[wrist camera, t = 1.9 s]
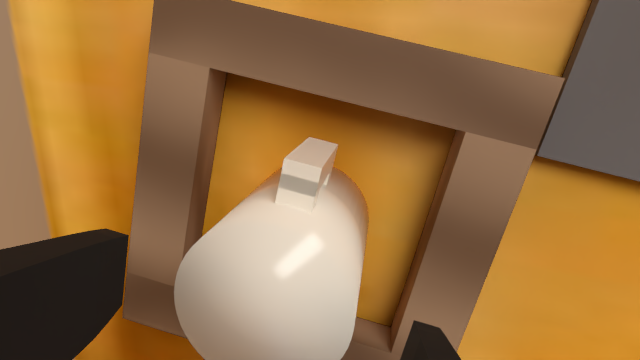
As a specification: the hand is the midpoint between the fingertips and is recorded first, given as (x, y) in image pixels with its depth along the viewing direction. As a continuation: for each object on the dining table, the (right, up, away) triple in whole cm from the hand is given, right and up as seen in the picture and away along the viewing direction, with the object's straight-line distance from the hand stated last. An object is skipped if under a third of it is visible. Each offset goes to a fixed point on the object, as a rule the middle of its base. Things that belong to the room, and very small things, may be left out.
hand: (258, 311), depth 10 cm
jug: (+1, +2, +6) cm, 7 cm away
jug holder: (+1, +2, +6) cm, 7 cm away
